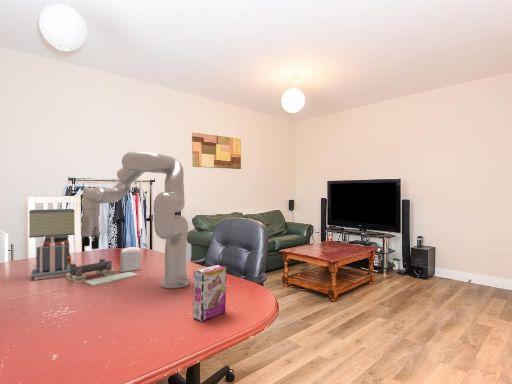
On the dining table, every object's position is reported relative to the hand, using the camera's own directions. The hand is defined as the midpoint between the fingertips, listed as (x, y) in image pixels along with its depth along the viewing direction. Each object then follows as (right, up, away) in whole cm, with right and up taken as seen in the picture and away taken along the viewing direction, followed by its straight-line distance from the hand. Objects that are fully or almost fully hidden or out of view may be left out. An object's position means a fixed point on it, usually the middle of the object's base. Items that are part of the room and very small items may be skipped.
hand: (90, 247), depth 153 cm
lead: (0, -12, 0) cm, 12 cm away
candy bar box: (+66, -16, -46) cm, 82 cm away
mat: (+12, -15, -3) cm, 19 cm away
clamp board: (0, -15, 0) cm, 15 cm away
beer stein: (-34, -14, +26) cm, 45 cm away
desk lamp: (-21, -15, +3) cm, 25 cm away
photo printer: (+14, -15, +13) cm, 24 cm away
